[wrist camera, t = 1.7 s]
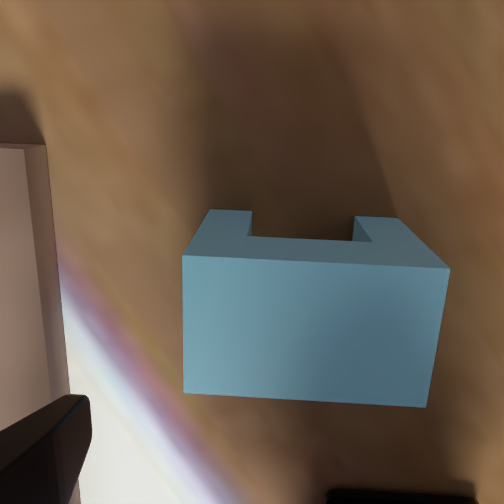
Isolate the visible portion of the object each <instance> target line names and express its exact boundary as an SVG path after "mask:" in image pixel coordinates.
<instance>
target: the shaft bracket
mask: <svg viewBox="0 0 504 504" xmlns="http://www.w3.org/2000/svg"><path fill="white" fill-rule="evenodd" d="M66 394H70V390H69V379H68V369H67V359H66V348H65V338H64V328H63V317H62V307H61V297H60V286H59V276H58V266H57V255H56V245H55V235H54V224H53V214H52V204H51V193H50V183H49V173H48V162H47V152H46V145H38V144H14V143H0V431H1V430H3V429H5V428H7V427H8V426H10V425H12V424H14V423H15V422H17V421H19V420H21V419H23V418H24V417H26V416H28V415H30V414H31V413H33V412H35V411H37V410H39V409H40V408H42V407H44V406H46V405H47V404H49V403H51V402H53V401H55V400H56V399H58V398H60V397H62V396H64V395H66ZM69 504H81V503H80V493H79V483H78V480H77V483H76V486H75V488H74V491H73V494H72V497H71V500H70V502H69Z"/></svg>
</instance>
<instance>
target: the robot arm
mask: <svg viewBox="0 0 504 504" xmlns="http://www.w3.org/2000/svg"><path fill="white" fill-rule="evenodd" d="M91 438H92V424H91V411H90V401H89V398H88V397H87V396H86V395H76V394H66V395H64V396H62V397H60V398H58V399H56V400H55V401H53V402H51V403H49V404H47V405H46V406H44V407H42V408H40V409H39V410H37V411H35V412H33V413H31V414H30V415H28V416H26V417H24V418H23V419H21V420H19V421H17V422H15V423H14V424H12V425H10V426H8V427H7V428H5V429H3V430H1V431H0V504H69V502H70V500H71V497H72V494H73V491H74V488H75V486H76V483H77V480H78V477H79V474H80V472H81V469H82V466H83V463H84V460H85V458H86V455H87V452H88V449H89V446H90V443H91ZM334 501H340V502H338V503H335V502H334ZM324 504H479V503H478V501H477V500H475V499H474V498H470V497H455V496H440V495H425V494H410V493H395V492H381V491H366V490H351V489H332V490H329V491H328V492H327V493H326V495H325V498H324Z"/></svg>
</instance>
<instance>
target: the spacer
mask: <svg viewBox="0 0 504 504" xmlns="http://www.w3.org/2000/svg"><path fill="white" fill-rule="evenodd" d="M251 233H252V211H239V210H217V209H210V210H209V212H208V213H207V215H206V217H205V218H204V220H203V222H202V223H201V225H200V227H199V228H198V230H197V232H196V233H195V235H194V237H193V238H192V240H191V242H190V243H189V245H188V247H187V248H186V250H185V252H184V253H183V255H182V281H183V385H184V393H192V394H209V395H225V396H242V397H258V398H275V399H291V400H308V401H324V402H341V403H357V404H373V405H390V406H406V407H423V408H426V404H427V399H428V393H429V388H430V382H431V376H432V371H433V365H434V360H435V354H436V348H437V343H438V337H439V331H440V326H441V320H442V315H443V309H444V303H445V298H446V292H447V287H448V281H449V275H450V270H451V269H450V268H449V267H448V266H447V265H446V264H445V263H444V262H443V261H442V260H441V259H440V258H439V257H438V256H437V255H436V254H435V253H434V252H433V251H432V250H431V249H430V248H429V247H428V246H427V245H426V244H424V243H423V242H422V241H421V240H420V239H419V238H418V237H417V236H416V235H415V234H414V233H413V232H412V231H411V230H410V229H409V228H408V227H407V226H406V225H405V224H404V223H403V222H402V221H401V220H400V219H399V218H388V217H367V216H355V219H354V229H353V238H352V241H338V240H317V239H297V238H276V237H256V236H251Z"/></svg>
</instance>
